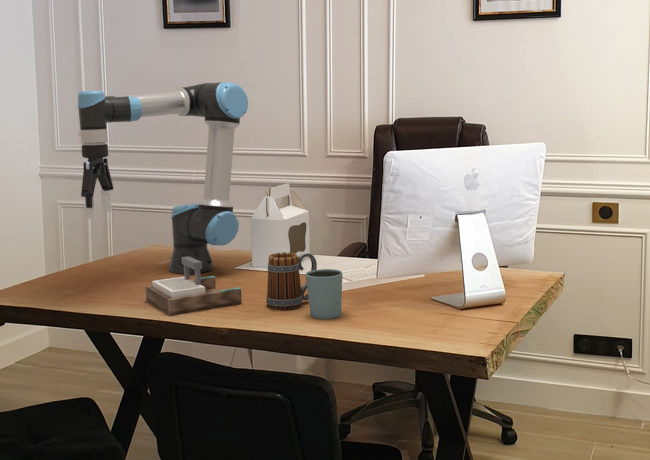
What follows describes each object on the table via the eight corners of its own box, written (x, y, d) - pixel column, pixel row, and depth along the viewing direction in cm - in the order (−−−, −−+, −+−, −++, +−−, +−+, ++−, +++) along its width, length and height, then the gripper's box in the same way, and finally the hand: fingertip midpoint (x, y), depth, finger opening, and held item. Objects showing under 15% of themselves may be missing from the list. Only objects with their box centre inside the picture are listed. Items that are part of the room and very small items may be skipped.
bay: (214, 290, 262) (213, 275, 262) (241, 304, 245) (241, 288, 245) (146, 301, 251) (145, 285, 250) (170, 315, 234) (169, 299, 234)
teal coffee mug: (347, 318, 229) (347, 275, 227) (312, 321, 226) (311, 278, 224) (336, 308, 238) (336, 267, 236) (302, 312, 235) (301, 270, 233)
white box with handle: (186, 292, 256) (185, 254, 254) (208, 303, 242) (206, 263, 240) (153, 297, 250) (150, 258, 248) (172, 309, 236) (170, 268, 234)
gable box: (277, 255, 317) (275, 181, 312) (310, 257, 312) (308, 182, 307) (251, 267, 297) (248, 188, 292) (285, 269, 292) (283, 189, 287)
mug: (275, 312, 236) (273, 260, 233) (260, 304, 245) (258, 254, 242) (324, 305, 243) (323, 254, 240) (308, 297, 252) (307, 248, 249)
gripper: (96, 141, 259) (101, 209, 263) (65, 147, 235) (71, 222, 239) (120, 140, 259) (124, 208, 262) (91, 146, 234) (97, 221, 238)
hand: (99, 215), depth 250 cm, fingers open, 13 cm apart
